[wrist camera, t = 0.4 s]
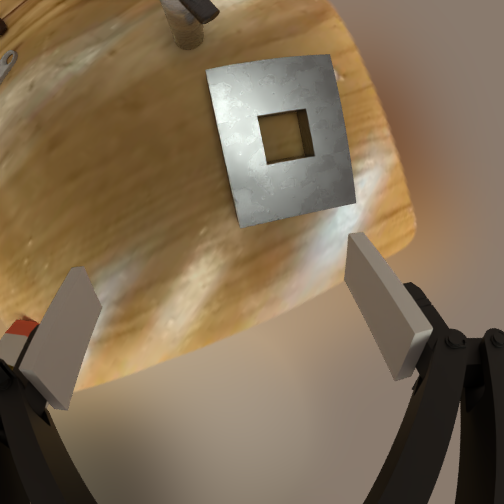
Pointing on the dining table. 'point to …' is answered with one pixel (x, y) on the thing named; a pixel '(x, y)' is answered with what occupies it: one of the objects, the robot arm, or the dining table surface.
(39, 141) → the dining table surface
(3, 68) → the adjustable wrench
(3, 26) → the bolt
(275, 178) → the block
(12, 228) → the dining table surface
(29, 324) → the french fries container
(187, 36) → the chuck key
